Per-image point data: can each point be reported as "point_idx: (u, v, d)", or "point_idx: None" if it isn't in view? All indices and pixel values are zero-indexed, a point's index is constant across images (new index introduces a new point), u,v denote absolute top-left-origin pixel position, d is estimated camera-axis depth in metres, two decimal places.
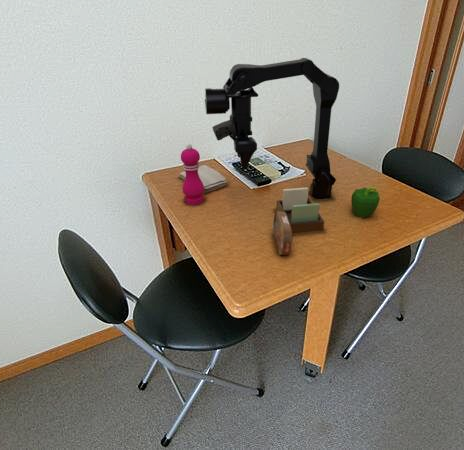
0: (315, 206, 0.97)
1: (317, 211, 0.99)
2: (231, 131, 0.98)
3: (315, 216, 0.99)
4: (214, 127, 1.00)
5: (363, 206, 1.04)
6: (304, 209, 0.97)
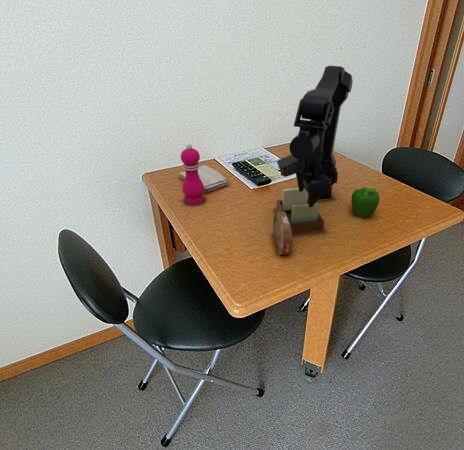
0: (315, 206, 0.97)
1: (317, 211, 0.99)
2: (300, 167, 0.87)
3: (315, 216, 0.99)
4: (279, 162, 0.89)
5: (363, 206, 1.04)
6: (304, 209, 0.97)
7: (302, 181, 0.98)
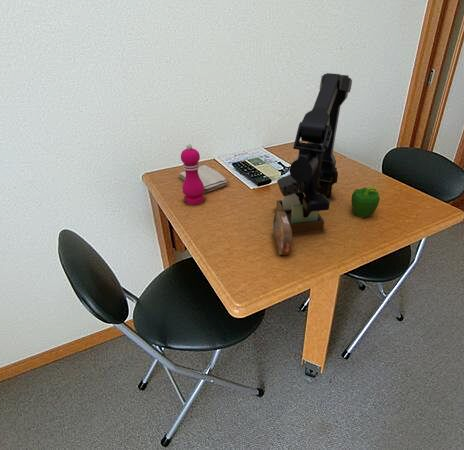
0: None
1: (317, 211, 0.99)
2: (299, 187, 0.90)
3: (315, 216, 0.99)
4: (279, 181, 0.92)
5: (363, 206, 1.04)
6: None
7: None
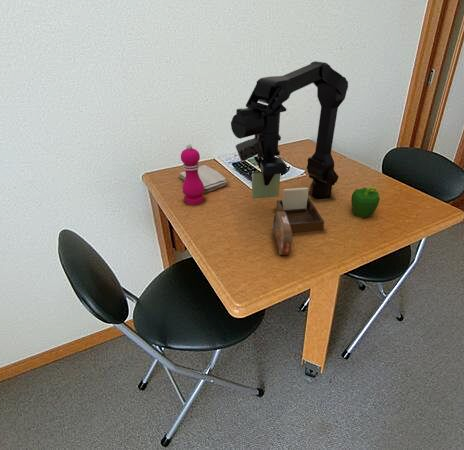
0: None
1: (278, 179, 0.97)
2: (257, 151, 0.89)
3: (277, 184, 0.98)
4: (238, 146, 0.91)
5: (363, 206, 1.04)
6: None
7: None
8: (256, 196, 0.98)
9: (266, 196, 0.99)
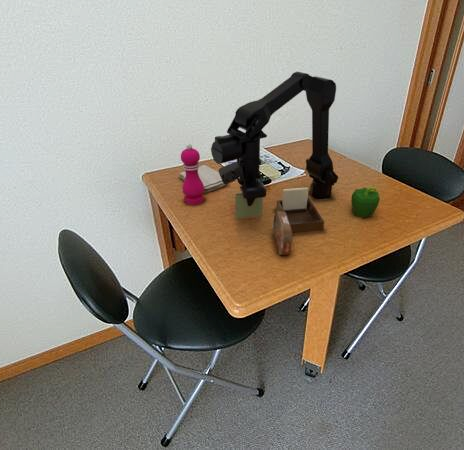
0: None
1: (261, 200, 1.00)
2: (238, 175, 0.92)
3: (259, 205, 1.01)
4: (220, 170, 0.94)
5: (363, 206, 1.04)
6: None
7: None
8: (240, 215, 1.02)
9: (250, 216, 1.03)
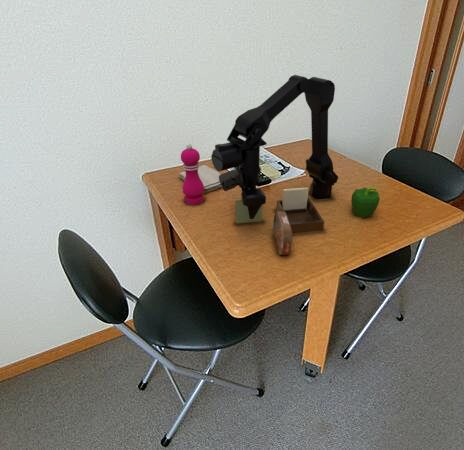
0: None
1: (261, 206, 1.02)
2: (238, 182, 0.93)
3: (259, 211, 1.03)
4: (220, 177, 0.95)
5: (363, 206, 1.04)
6: None
7: None
8: (240, 222, 1.03)
9: None
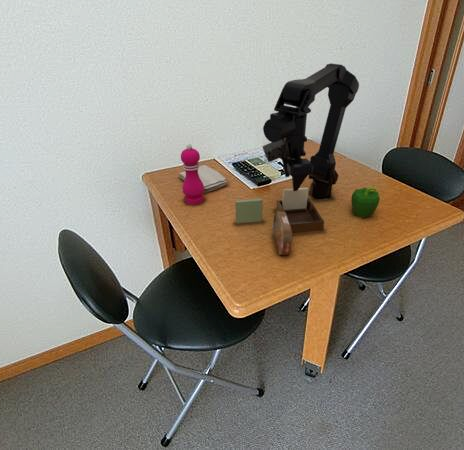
0: (258, 201, 1.01)
1: (261, 206, 1.02)
2: (284, 152, 0.91)
3: (259, 211, 1.03)
4: (265, 147, 0.94)
5: (363, 206, 1.04)
6: (247, 204, 1.00)
7: None
8: (240, 222, 1.03)
9: None
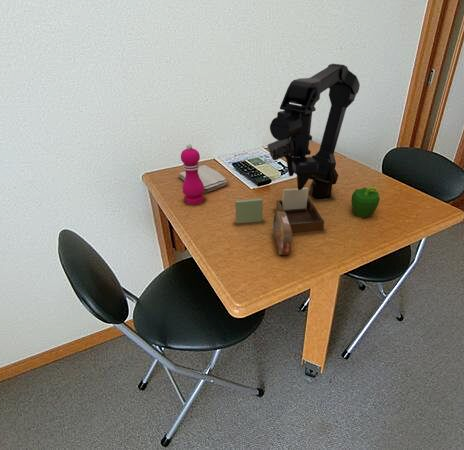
0: (258, 201, 1.01)
1: (261, 206, 1.02)
2: (289, 150, 0.91)
3: (259, 211, 1.03)
4: (269, 146, 0.93)
5: (363, 206, 1.04)
6: (247, 204, 1.00)
7: (292, 166, 1.02)
8: (240, 222, 1.03)
9: None
